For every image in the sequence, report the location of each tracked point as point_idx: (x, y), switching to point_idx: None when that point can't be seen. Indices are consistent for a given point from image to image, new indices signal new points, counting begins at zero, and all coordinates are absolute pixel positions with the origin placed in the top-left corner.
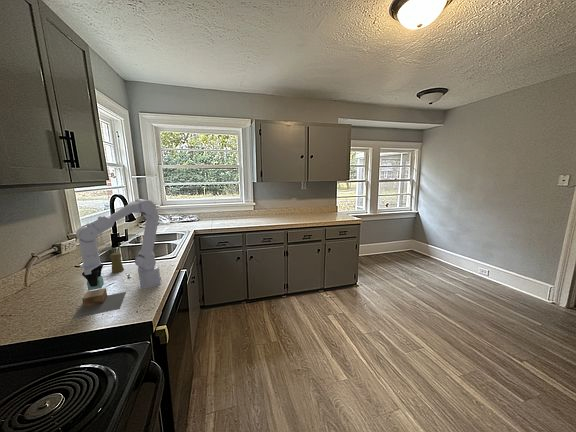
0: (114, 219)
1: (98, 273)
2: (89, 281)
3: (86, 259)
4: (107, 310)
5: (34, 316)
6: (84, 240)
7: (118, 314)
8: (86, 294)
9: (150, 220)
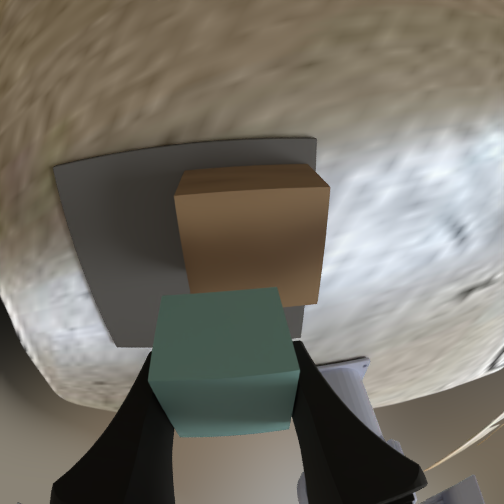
0: None
1: (302, 446)
2: (131, 409)
3: None
4: (108, 309)
5: None
6: None
7: (83, 343)
8: (258, 201)
9: None
